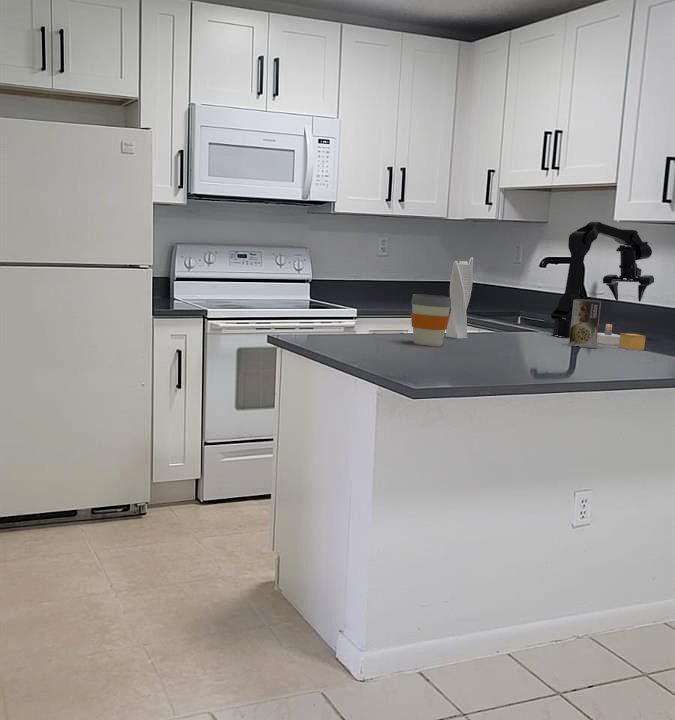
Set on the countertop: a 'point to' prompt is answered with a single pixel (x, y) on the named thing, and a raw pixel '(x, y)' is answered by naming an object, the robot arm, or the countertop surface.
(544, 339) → the countertop surface
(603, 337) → the block
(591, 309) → the coffee box
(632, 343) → the yellow short cylinder
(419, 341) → the reusable coffee cup
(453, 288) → the skyscraper
